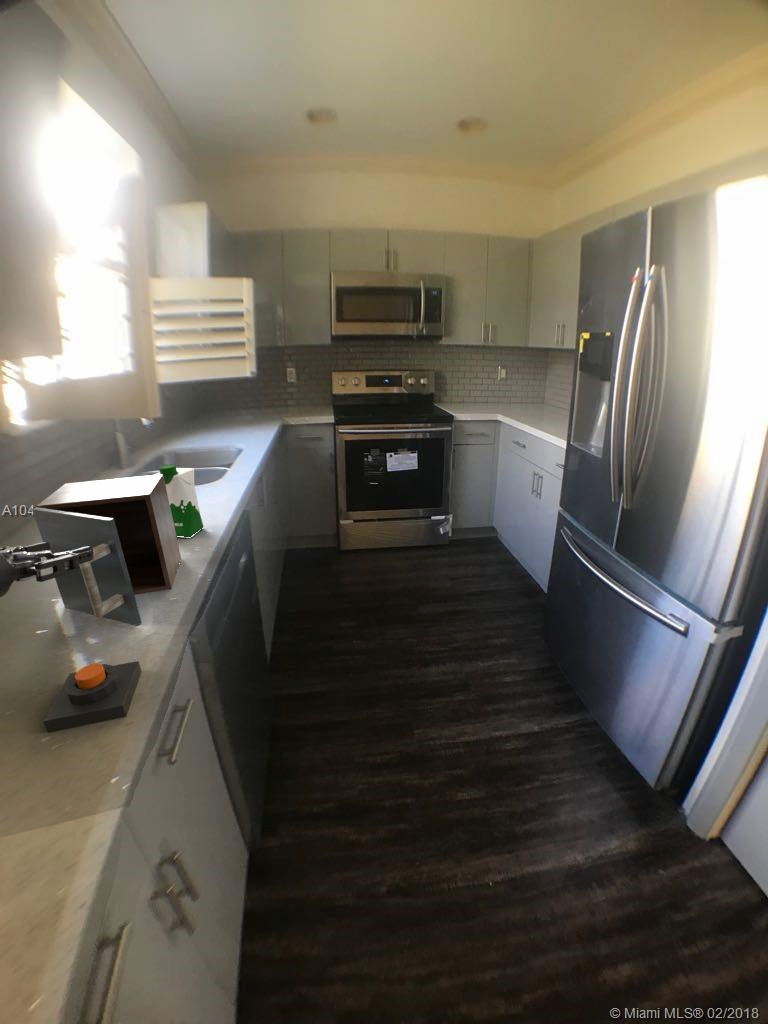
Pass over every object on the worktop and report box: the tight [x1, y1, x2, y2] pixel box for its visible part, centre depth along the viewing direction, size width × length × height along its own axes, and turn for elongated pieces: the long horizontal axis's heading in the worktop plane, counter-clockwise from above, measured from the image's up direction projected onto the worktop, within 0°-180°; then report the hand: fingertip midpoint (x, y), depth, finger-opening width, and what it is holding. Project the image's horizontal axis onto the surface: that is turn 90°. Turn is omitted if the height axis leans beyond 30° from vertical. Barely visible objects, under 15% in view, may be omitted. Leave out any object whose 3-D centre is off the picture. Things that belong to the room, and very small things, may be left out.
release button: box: [75, 663, 106, 689], centre depth 68 cm, size 4×4×2 cm
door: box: [31, 507, 142, 627], centre depth 85 cm, size 6×20×22 cm, turn 69°
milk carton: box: [154, 463, 205, 537], centre depth 125 cm, size 9×9×20 cm
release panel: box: [43, 660, 142, 734], centre depth 69 cm, size 10×10×4 cm
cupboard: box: [35, 474, 182, 596], centre depth 100 cm, size 15×20×22 cm
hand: (69, 550), depth 73 cm, fingers open, 8 cm apart
